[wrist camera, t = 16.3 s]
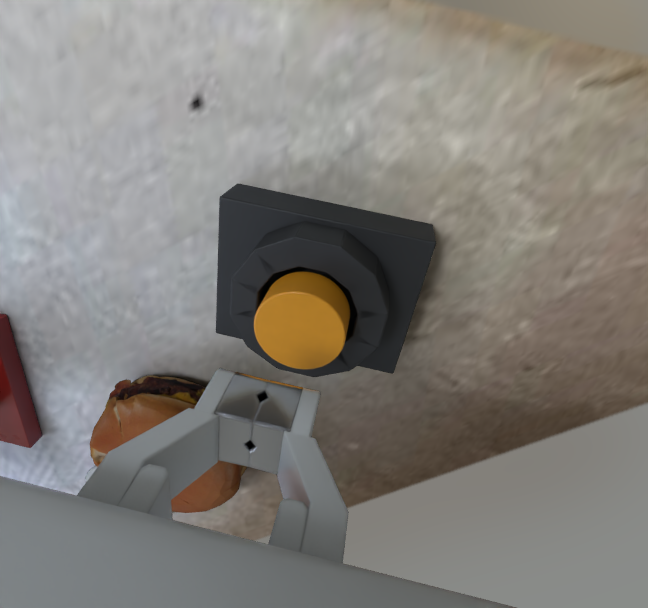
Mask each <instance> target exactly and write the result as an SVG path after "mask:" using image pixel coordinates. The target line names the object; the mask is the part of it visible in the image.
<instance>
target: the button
mask: <svg viewBox="0 0 648 608" xmlns="http://www.w3.org/2000/svg"><path fill="white" fill-rule="evenodd" d="M349 320H350V307H349V303H348V300H347V298H346V296H345V294H344V293H343V291H342V290H341V289H340V288H339V286H337V285H336V284H335V283H334V282H333V281H331V280H330V279H328V278H326V277H325V276H322V275H320V274H316V273H312V272H294V273H290V274H287V275H285V276H283V277H281V278H279V279H278V280H276V281H275V282H274V283H273V284H272V286H271V287H270V289H269V290H268V292H267V294H266V295H265V297H264V299H263V301H262V302H261V304H260V306H259V308H258V310H257V311H256V314H255V318H254V332H255V335H256V338H257V341H258V343H259V344H260V346H261V347H262V349H263V350H264V351H265V352H266V353H267V354H268V355H269V356H270V357H271V358H273V359H274V360H276V361H277V362H279V363H281V364H283V365H286V366H288V367H292V368H296V369H315V368H319V367H322V366H325V365H327V364H329V363H330V362H332V361H333V360H334V359H335V358H336V357H337V356H338V355H339V354H340V353H341V351H342V349H343V347H344V344H345V340H346V335H347V330H348V325H349Z"/></svg>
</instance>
